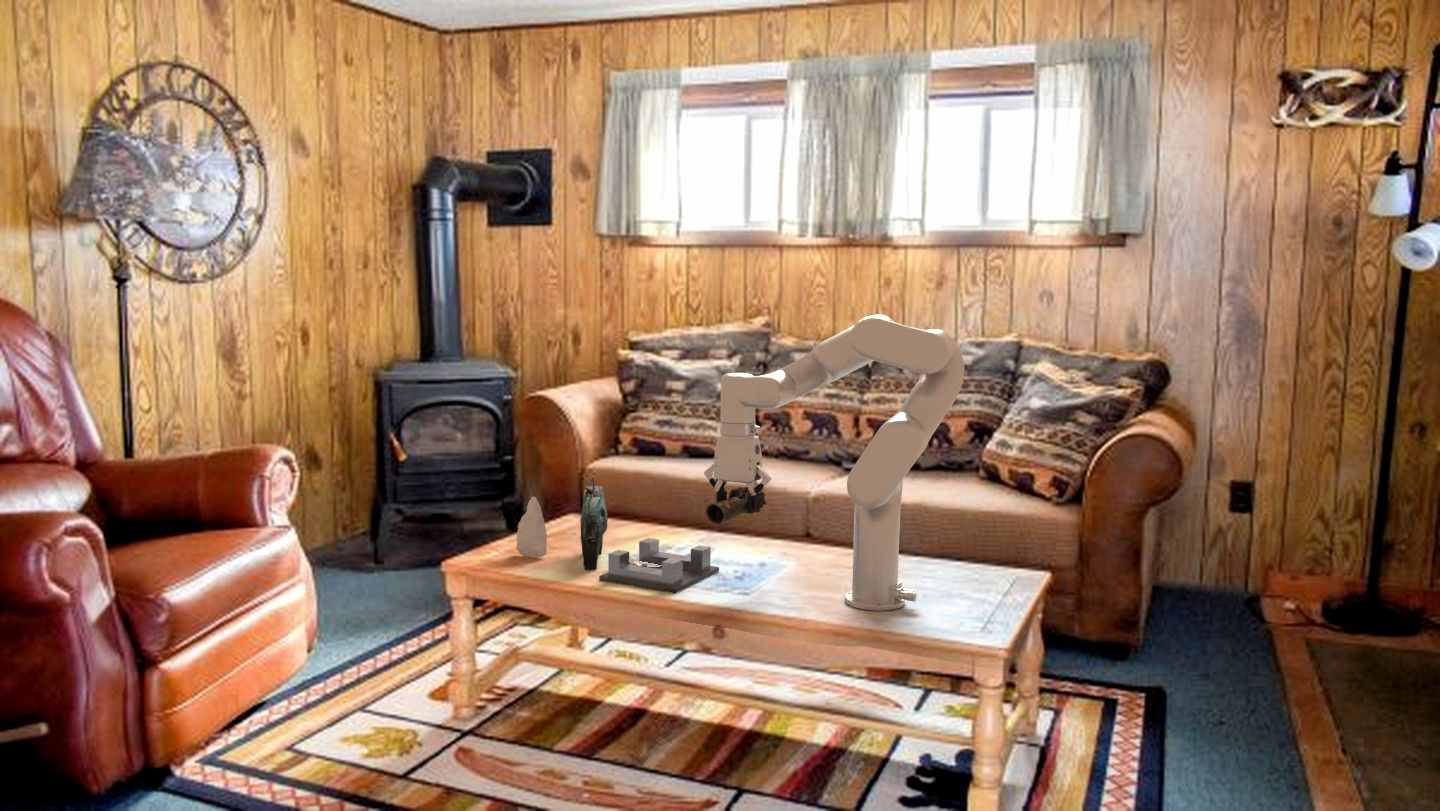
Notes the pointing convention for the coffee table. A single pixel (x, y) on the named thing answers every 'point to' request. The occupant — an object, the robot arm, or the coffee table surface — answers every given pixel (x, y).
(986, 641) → the coffee table surface
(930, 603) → the coffee table surface
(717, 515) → the metal pipe
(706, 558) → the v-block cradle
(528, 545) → the stone tool
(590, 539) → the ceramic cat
